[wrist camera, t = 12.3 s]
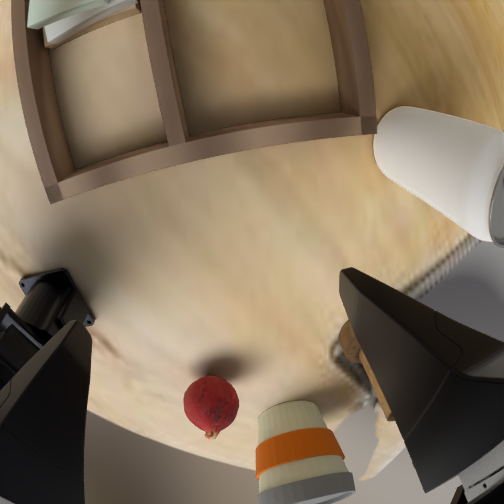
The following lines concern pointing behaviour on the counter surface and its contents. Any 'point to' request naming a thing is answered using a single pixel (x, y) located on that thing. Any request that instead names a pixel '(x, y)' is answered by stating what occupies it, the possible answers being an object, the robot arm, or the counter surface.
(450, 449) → the robot arm
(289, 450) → the reusable coffee cup
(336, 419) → the counter surface
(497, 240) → the can
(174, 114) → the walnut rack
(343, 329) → the wooden pepper mill
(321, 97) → the counter surface
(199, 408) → the red pomegranate
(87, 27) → the offcut stack
